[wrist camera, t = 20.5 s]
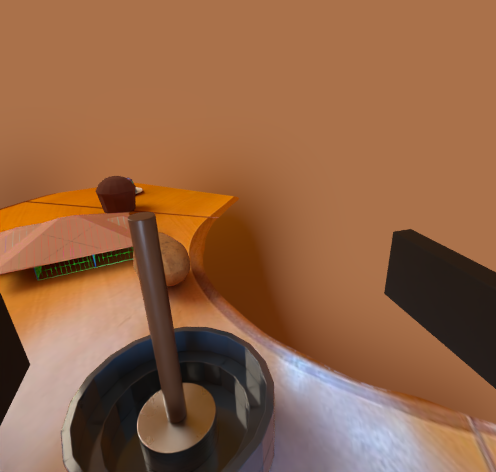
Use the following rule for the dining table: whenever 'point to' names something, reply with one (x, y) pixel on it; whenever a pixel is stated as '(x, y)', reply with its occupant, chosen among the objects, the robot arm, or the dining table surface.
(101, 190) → the muffin
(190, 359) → the bowl
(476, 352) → the robot arm
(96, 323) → the dining table surface
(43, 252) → the house
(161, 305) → the brown rod with cylinder
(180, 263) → the potato
